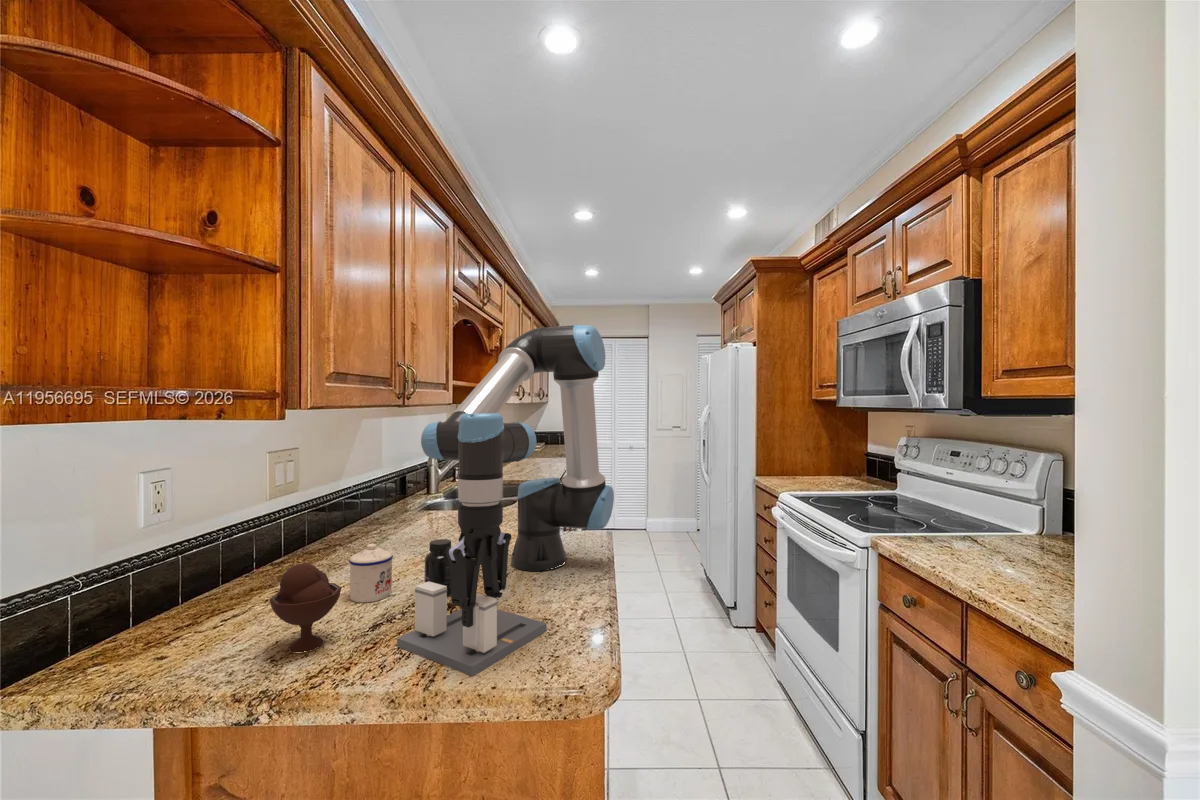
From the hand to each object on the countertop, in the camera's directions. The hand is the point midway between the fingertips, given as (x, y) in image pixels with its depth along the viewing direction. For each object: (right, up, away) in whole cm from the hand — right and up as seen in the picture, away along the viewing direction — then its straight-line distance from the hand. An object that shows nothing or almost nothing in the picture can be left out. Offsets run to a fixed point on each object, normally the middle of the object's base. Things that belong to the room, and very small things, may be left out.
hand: (479, 639), depth 85 cm
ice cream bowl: (-32, -3, +4) cm, 33 cm away
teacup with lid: (-32, -4, +30) cm, 43 cm away
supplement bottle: (-16, -4, +30) cm, 34 cm away
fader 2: (0, -3, 0) cm, 3 cm away
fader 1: (-10, -3, +6) cm, 12 cm away
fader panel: (-3, -3, +7) cm, 8 cm away
